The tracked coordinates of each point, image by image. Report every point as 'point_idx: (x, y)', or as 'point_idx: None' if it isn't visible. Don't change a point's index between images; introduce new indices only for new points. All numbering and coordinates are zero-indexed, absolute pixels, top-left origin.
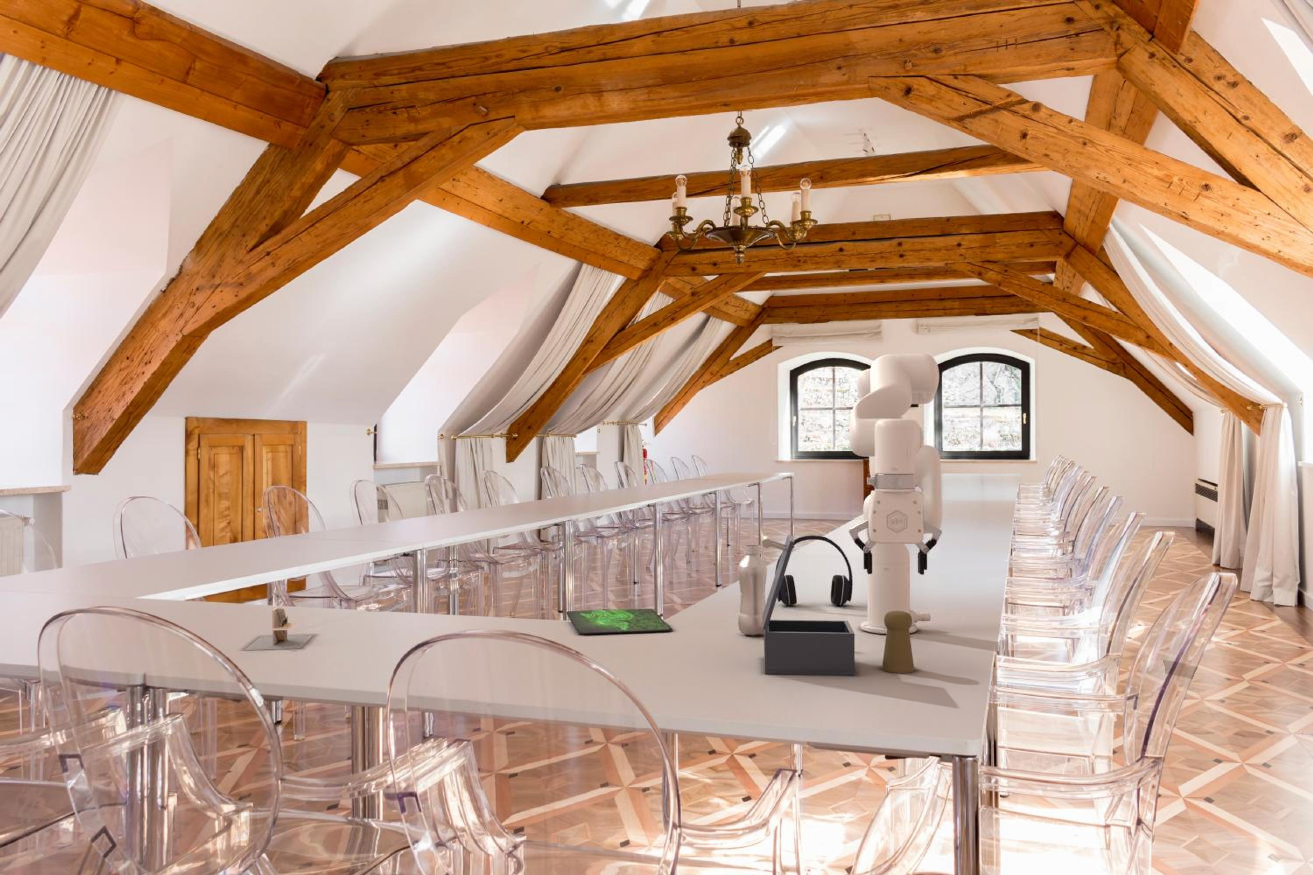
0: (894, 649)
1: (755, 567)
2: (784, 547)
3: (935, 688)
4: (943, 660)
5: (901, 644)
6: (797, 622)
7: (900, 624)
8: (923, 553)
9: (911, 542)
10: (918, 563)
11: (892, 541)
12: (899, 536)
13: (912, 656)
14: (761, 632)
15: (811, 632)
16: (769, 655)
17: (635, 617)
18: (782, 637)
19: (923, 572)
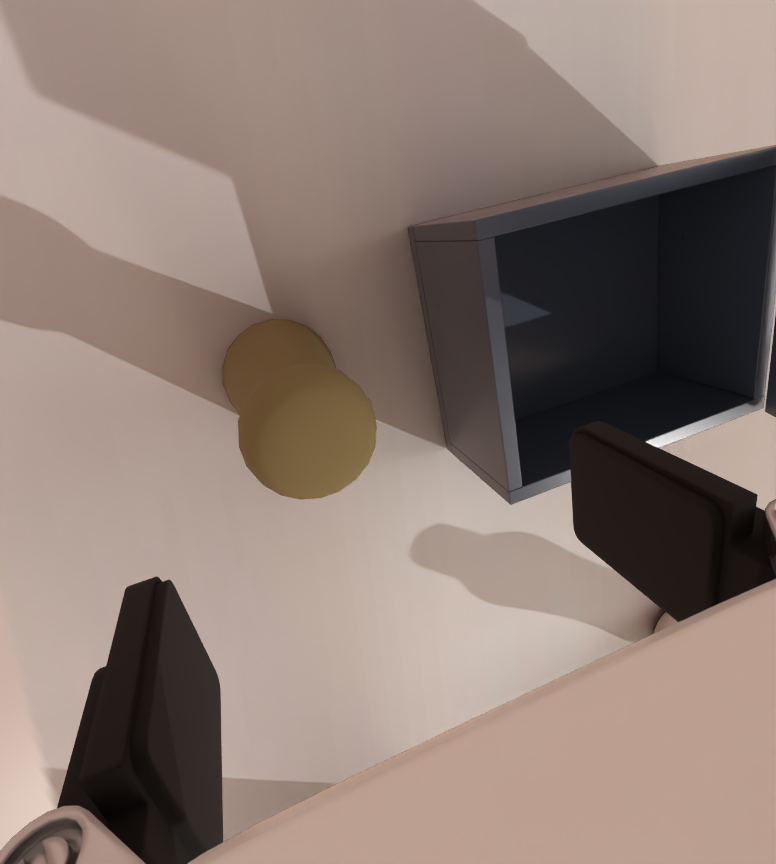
0: (297, 344)
1: None
2: None
3: (70, 72)
4: (154, 565)
5: (271, 355)
6: (665, 428)
7: (286, 368)
8: (96, 800)
9: (276, 821)
10: (204, 724)
11: (652, 659)
12: (607, 828)
13: (231, 393)
14: (665, 616)
15: (638, 192)
16: (697, 159)
17: None
18: (718, 158)
19: (131, 592)
